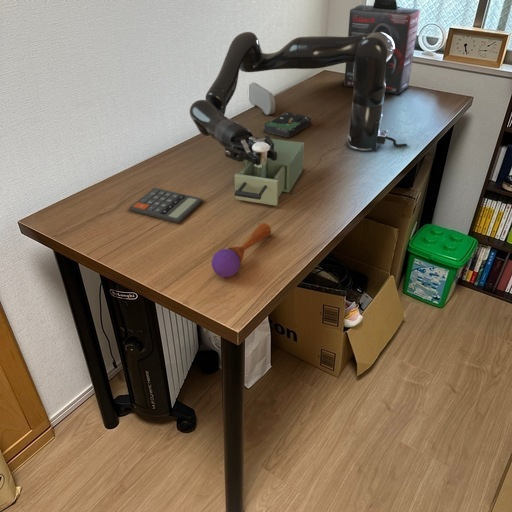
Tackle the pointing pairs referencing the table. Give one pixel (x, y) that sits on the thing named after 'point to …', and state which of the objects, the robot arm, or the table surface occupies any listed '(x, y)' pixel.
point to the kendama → (237, 253)
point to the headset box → (397, 28)
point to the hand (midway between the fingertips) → (267, 159)
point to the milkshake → (261, 158)
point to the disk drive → (287, 124)
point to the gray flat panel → (261, 98)
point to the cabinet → (288, 159)
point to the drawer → (261, 184)
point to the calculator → (166, 205)
